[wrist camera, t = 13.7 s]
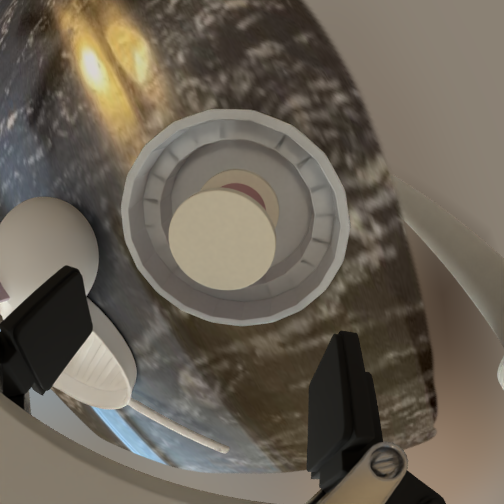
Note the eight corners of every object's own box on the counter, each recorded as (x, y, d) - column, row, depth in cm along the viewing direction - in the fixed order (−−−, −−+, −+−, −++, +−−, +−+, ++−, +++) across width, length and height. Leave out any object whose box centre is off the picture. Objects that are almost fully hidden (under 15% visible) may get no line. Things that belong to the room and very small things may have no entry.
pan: (15, 215, 24) (-6, 227, 21) (284, 411, 33) (282, 434, 30) (5, 320, 34) (-6, 332, 31) (191, 449, 43) (186, 465, 40)
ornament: (35, 239, 25) (-38, 296, 15) (57, 163, 21) (-44, 208, 11) (99, 296, 27) (36, 374, 17) (134, 227, 23) (45, 311, 13)
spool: (296, 205, 20) (299, 240, 15) (244, 260, 23) (230, 307, 17) (230, 151, 19) (207, 166, 14) (183, 213, 21) (150, 247, 16)
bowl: (373, 200, 20) (396, 225, 15) (253, 314, 26) (246, 353, 21) (224, 72, 17) (204, 60, 13) (125, 217, 23) (93, 241, 18)
